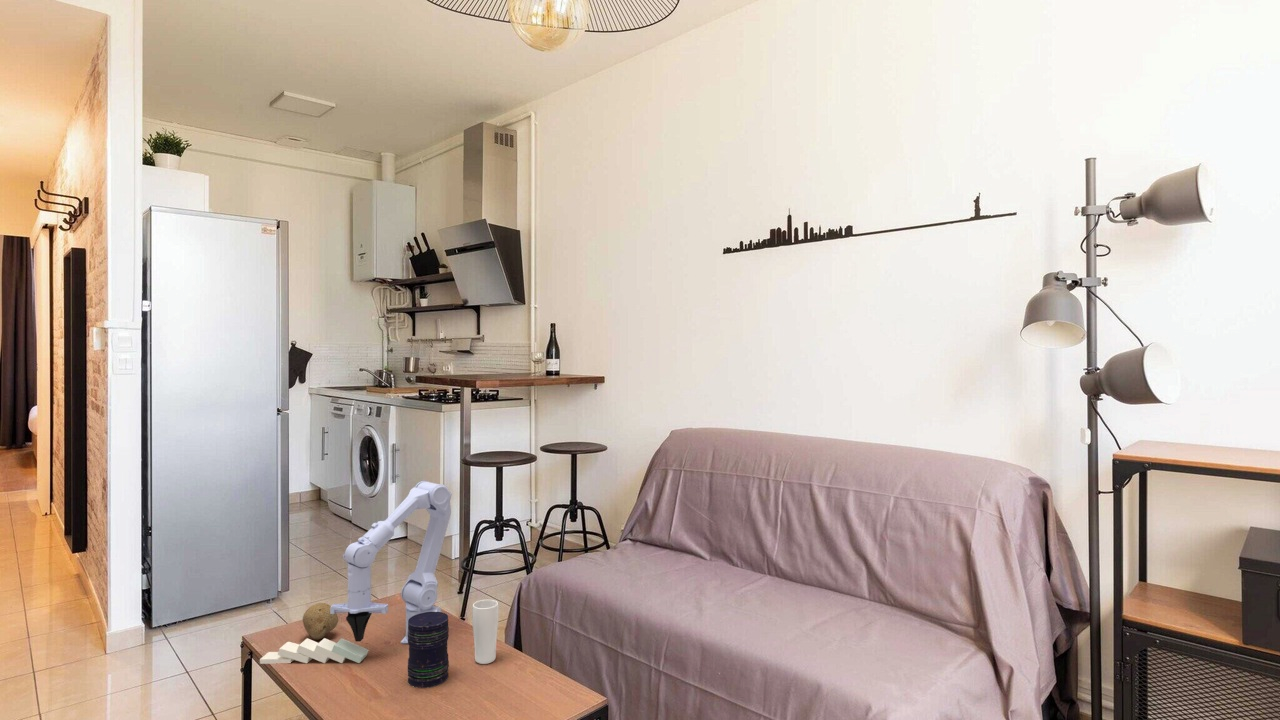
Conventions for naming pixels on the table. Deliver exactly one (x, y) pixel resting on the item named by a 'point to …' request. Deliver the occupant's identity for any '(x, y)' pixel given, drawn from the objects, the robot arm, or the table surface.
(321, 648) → the domino
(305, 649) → the domino
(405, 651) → the table surface
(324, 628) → the natural sponge
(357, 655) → the domino
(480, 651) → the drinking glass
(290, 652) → the domino
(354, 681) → the table surface
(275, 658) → the domino
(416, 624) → the dark blue cylinder
